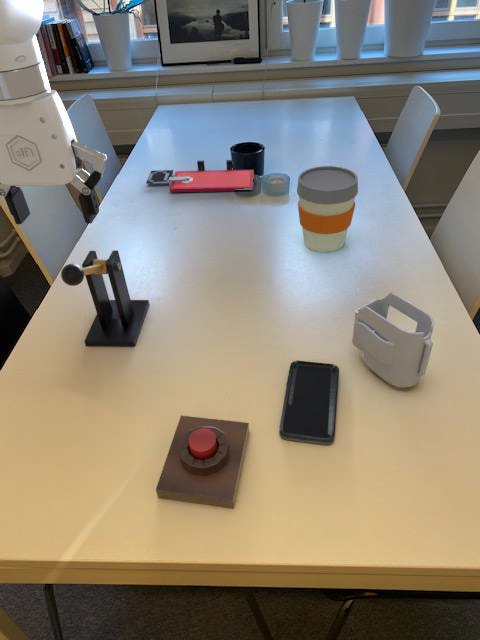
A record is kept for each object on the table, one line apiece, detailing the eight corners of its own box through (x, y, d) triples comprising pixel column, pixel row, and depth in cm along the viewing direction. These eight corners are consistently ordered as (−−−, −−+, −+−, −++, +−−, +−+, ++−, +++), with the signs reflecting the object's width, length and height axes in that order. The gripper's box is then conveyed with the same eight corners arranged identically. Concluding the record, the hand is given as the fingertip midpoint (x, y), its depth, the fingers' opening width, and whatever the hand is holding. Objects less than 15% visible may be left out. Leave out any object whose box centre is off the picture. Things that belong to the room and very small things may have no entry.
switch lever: (79, 287, 70) (77, 264, 69) (58, 287, 70) (56, 264, 70) (115, 274, 85) (114, 256, 84) (97, 274, 85) (95, 256, 84)
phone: (339, 364, 79) (334, 441, 67) (339, 369, 79) (333, 446, 68) (290, 359, 80) (277, 434, 69) (290, 364, 81) (277, 438, 70)
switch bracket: (135, 346, 86) (116, 278, 77) (85, 346, 87) (61, 278, 78) (149, 304, 96) (134, 238, 86) (104, 304, 96) (85, 239, 87)
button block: (233, 509, 62) (231, 492, 59) (158, 498, 64) (153, 481, 61) (249, 432, 71) (248, 414, 68) (182, 424, 73) (179, 407, 70)
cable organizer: (371, 341, 84) (380, 284, 76) (431, 383, 76) (448, 324, 68) (343, 358, 81) (349, 301, 74) (402, 403, 73) (416, 345, 66)
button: (213, 460, 63) (212, 452, 62) (186, 457, 64) (185, 449, 63) (219, 438, 66) (218, 430, 65) (193, 435, 67) (192, 427, 66)
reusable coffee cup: (306, 223, 116) (308, 162, 107) (359, 232, 112) (366, 169, 102) (287, 250, 108) (288, 186, 98) (343, 261, 103) (349, 195, 94)
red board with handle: (152, 170, 145) (143, 194, 134) (151, 161, 143) (141, 184, 132) (254, 168, 143) (253, 192, 132) (254, 159, 141) (252, 182, 130)
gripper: (-77, 94, 53) (-16, 233, 64) (76, 88, 52) (111, 232, 63) (-41, 77, 59) (9, 207, 70) (97, 71, 57) (127, 205, 68)
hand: (57, 219), depth 66 cm, fingers open, 9 cm apart
